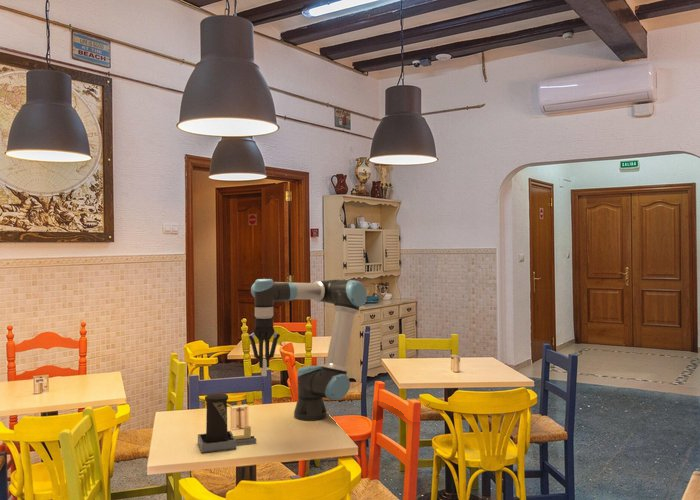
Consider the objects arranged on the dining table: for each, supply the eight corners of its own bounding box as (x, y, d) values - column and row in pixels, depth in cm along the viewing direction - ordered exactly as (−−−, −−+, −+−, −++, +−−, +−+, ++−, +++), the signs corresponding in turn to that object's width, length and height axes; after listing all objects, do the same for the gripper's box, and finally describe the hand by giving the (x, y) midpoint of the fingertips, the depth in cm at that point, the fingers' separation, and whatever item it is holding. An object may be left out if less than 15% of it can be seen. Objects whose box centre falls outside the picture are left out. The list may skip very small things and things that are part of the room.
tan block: (249, 438, 247) (249, 426, 247) (250, 440, 246) (250, 427, 246) (230, 440, 245) (230, 428, 245) (231, 442, 243) (231, 429, 243)
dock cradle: (230, 439, 250) (230, 430, 250) (236, 449, 238) (236, 440, 238) (197, 443, 246) (197, 434, 246) (201, 453, 233) (201, 444, 233)
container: (223, 448, 237) (223, 397, 237) (201, 447, 238) (201, 396, 238) (231, 441, 245) (231, 391, 245) (210, 440, 247) (210, 390, 247)
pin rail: (253, 440, 249) (253, 435, 249) (256, 443, 245) (256, 438, 245) (233, 442, 246) (233, 437, 246) (235, 445, 242) (234, 441, 242)
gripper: (277, 315, 254) (277, 372, 254) (246, 316, 250) (246, 375, 250) (282, 317, 247) (282, 376, 247) (249, 319, 243) (249, 378, 243)
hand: (264, 375), depth 248 cm, fingers closed
